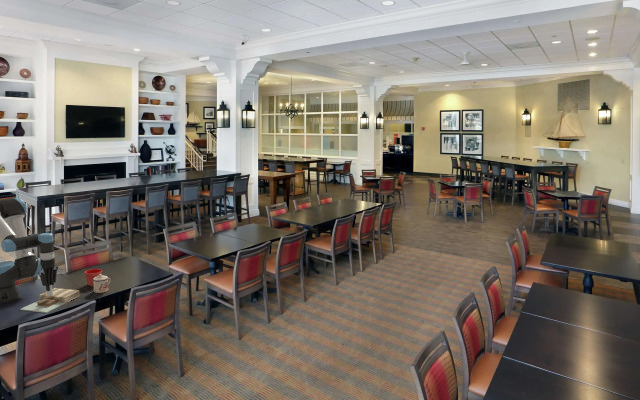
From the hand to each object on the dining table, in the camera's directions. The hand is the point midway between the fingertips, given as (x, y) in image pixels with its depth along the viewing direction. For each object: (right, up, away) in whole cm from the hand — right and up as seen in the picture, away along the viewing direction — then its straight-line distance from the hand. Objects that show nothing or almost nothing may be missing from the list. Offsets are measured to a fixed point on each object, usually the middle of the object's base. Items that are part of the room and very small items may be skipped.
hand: (50, 295), depth 253 cm
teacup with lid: (+20, -2, +24) cm, 31 cm away
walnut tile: (0, -5, -1) cm, 5 cm away
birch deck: (+1, -4, +8) cm, 9 cm away
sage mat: (-1, -6, -5) cm, 8 cm away
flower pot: (+8, 0, +34) cm, 35 cm away
